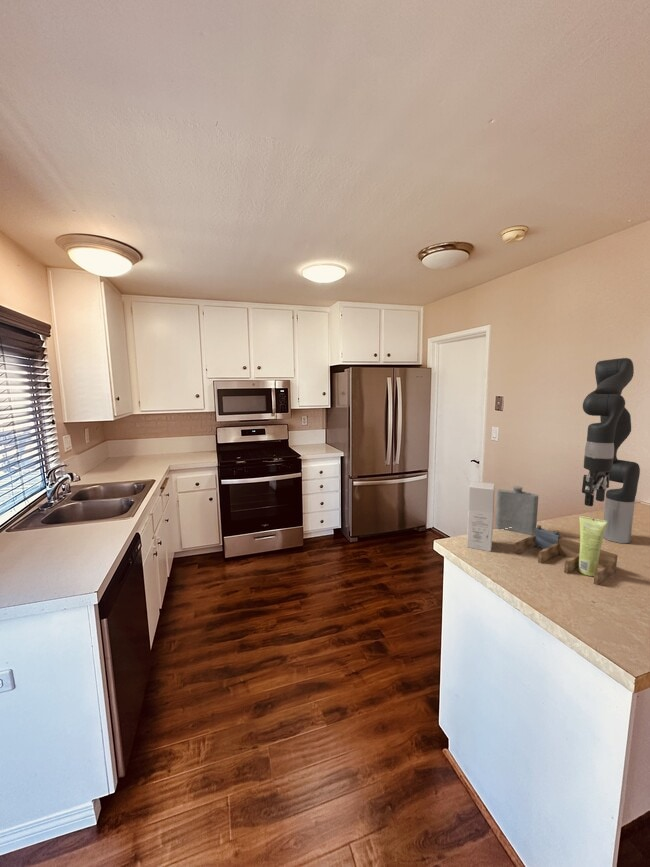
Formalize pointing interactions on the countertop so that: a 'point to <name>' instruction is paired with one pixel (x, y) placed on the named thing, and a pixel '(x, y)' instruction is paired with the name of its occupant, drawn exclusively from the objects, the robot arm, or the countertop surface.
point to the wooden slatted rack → (566, 552)
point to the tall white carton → (480, 515)
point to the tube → (590, 544)
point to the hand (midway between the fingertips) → (594, 503)
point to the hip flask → (516, 510)
